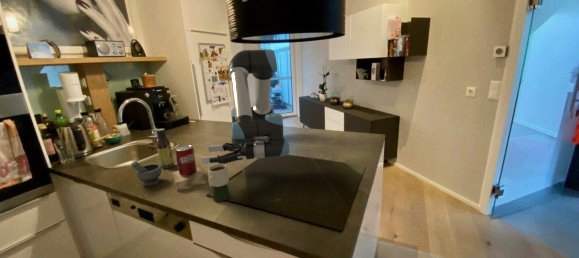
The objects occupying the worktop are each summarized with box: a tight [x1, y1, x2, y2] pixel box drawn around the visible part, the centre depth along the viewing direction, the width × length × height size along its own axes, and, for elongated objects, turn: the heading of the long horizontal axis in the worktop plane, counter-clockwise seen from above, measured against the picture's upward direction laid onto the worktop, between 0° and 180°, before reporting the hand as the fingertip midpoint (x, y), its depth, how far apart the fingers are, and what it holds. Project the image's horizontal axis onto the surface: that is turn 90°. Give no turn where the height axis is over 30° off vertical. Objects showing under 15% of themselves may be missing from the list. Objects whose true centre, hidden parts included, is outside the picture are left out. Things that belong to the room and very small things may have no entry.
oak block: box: [171, 165, 208, 192], centre depth 105 cm, size 12×12×4 cm
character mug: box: [207, 163, 231, 202], centre depth 90 cm, size 11×7×13 cm, turn 161°
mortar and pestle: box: [130, 160, 162, 187], centre depth 105 cm, size 11×9×12 cm
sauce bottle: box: [155, 128, 175, 169], centre depth 121 cm, size 6×6×20 cm
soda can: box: [174, 144, 197, 177], centre depth 103 cm, size 7×7×12 cm
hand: (205, 154), depth 104 cm, fingers open, 13 cm apart
